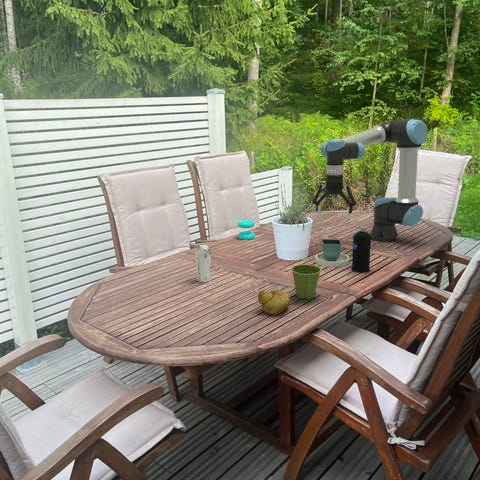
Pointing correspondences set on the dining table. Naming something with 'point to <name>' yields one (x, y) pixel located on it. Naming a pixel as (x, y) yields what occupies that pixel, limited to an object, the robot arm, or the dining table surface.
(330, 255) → the flower pot
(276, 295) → the brown lumpy oval
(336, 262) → the saucer
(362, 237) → the aerosol can
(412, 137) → the robot arm
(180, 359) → the dining table surface
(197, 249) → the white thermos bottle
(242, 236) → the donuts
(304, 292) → the plant pot
